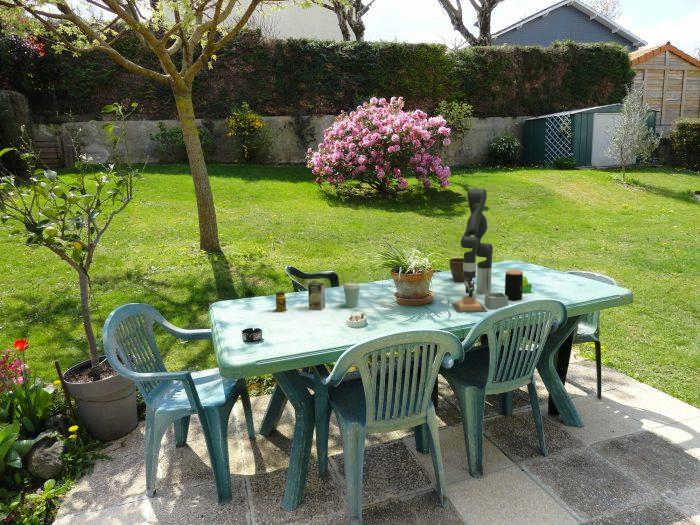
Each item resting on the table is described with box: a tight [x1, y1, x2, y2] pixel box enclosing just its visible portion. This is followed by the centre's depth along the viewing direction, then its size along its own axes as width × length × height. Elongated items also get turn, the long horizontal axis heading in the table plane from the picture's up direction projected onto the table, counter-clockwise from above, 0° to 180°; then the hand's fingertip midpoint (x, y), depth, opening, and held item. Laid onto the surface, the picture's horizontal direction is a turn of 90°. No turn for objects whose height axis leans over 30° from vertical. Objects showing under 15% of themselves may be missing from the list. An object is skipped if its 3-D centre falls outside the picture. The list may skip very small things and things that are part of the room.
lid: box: [455, 295, 482, 311], centre depth 305 cm, size 13×13×6 cm
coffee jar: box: [504, 269, 524, 302], centre depth 318 cm, size 11×11×18 cm
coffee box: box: [307, 281, 326, 311], centre depth 313 cm, size 9×6×16 cm
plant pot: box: [448, 257, 465, 283], centre depth 365 cm, size 15×15×16 cm
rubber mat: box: [450, 301, 488, 314], centre depth 305 cm, size 18×18×1 cm
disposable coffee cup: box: [342, 282, 361, 309], centre depth 315 cm, size 11×11×15 cm
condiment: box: [271, 290, 289, 313], centre depth 311 cm, size 7×8×12 cm
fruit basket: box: [522, 276, 533, 294], centre depth 333 cm, size 11×9×11 cm
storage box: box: [484, 292, 509, 310], centre depth 306 cm, size 11×11×7 cm
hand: (469, 295), depth 304 cm, fingers open, 8 cm apart
